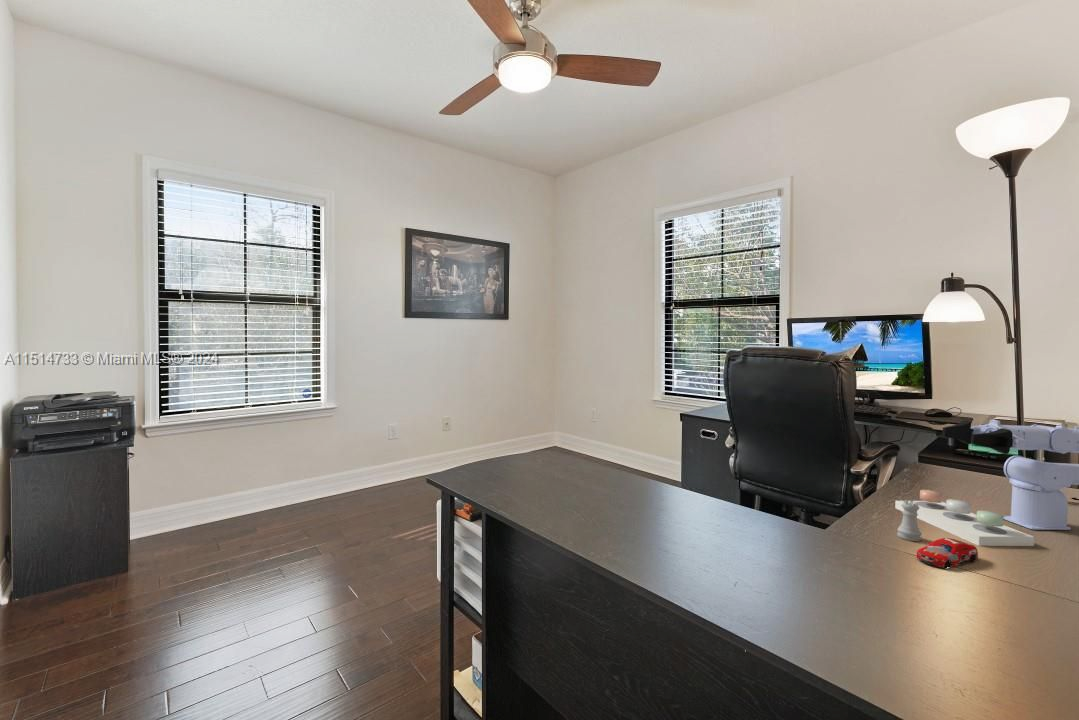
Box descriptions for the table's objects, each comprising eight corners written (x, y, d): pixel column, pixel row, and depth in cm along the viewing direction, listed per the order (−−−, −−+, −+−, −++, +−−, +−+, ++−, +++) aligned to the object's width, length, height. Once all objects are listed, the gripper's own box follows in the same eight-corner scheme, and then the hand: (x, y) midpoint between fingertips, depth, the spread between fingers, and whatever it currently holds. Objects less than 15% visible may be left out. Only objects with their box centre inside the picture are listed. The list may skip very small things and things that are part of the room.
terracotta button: (932, 497, 128) (932, 489, 128) (946, 502, 123) (946, 494, 123) (915, 497, 128) (915, 489, 127) (929, 502, 123) (929, 494, 123)
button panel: (940, 508, 130) (940, 500, 130) (1033, 546, 106) (1034, 535, 106) (895, 508, 129) (895, 499, 129) (978, 545, 105) (979, 535, 105)
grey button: (959, 507, 120) (959, 499, 120) (975, 513, 115) (976, 505, 115) (941, 507, 120) (941, 499, 119) (957, 513, 115) (957, 505, 115)
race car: (940, 572, 93) (941, 551, 93) (910, 560, 98) (910, 540, 98) (984, 562, 98) (985, 542, 98) (953, 551, 103) (954, 532, 103)
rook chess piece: (926, 543, 106) (927, 506, 106) (902, 541, 107) (904, 504, 107) (915, 535, 111) (916, 499, 111) (892, 533, 112) (894, 498, 111)
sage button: (990, 519, 112) (990, 510, 112) (1009, 526, 107) (1009, 517, 107) (971, 519, 112) (971, 510, 111) (989, 526, 107) (989, 517, 107)
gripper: (985, 415, 125) (933, 413, 124) (1046, 427, 111) (988, 425, 110) (982, 442, 126) (930, 440, 125) (1042, 458, 111) (984, 456, 110)
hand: (957, 435), depth 117 cm, fingers open, 7 cm apart
